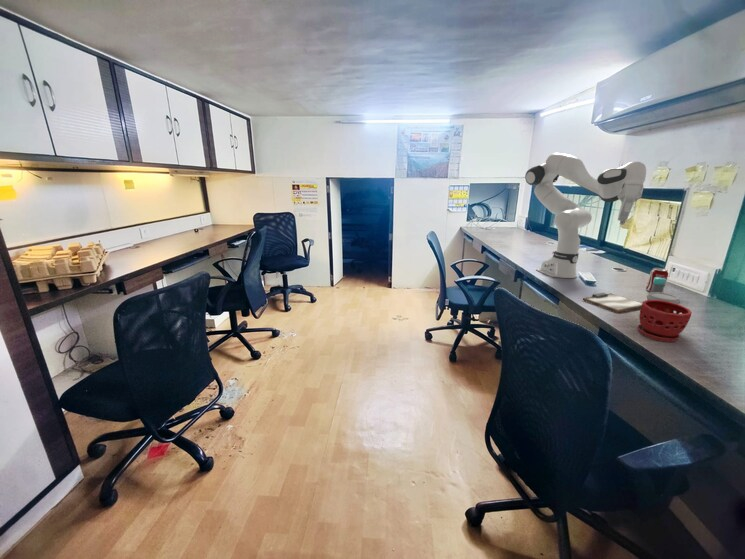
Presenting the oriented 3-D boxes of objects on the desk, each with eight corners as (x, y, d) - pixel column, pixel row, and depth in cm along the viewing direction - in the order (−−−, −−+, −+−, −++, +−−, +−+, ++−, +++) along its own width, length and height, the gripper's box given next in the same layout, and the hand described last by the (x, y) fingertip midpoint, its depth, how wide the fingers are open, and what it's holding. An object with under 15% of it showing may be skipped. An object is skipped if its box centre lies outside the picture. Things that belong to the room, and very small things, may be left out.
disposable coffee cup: (633, 318, 129) (641, 291, 125) (657, 319, 128) (665, 291, 125) (652, 329, 120) (661, 300, 116) (678, 329, 119) (687, 300, 116)
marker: (644, 305, 142) (652, 277, 138) (650, 304, 143) (658, 276, 139) (654, 309, 138) (662, 280, 134) (660, 307, 140) (668, 279, 136)
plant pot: (626, 331, 118) (634, 302, 114) (648, 326, 122) (657, 297, 119) (667, 348, 106) (677, 315, 103) (690, 341, 111) (701, 310, 107)
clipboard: (582, 300, 149) (583, 295, 148) (610, 295, 155) (611, 291, 154) (617, 313, 134) (618, 307, 134) (646, 307, 140) (647, 302, 140)
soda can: (666, 294, 156) (673, 271, 153) (650, 293, 158) (657, 270, 154) (657, 289, 163) (663, 267, 159) (642, 289, 164) (648, 267, 160)
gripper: (617, 205, 155) (611, 229, 152) (626, 178, 138) (620, 204, 135) (633, 206, 152) (627, 231, 148) (644, 179, 135) (638, 206, 132)
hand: (624, 218), depth 142 cm, fingers open, 8 cm apart
